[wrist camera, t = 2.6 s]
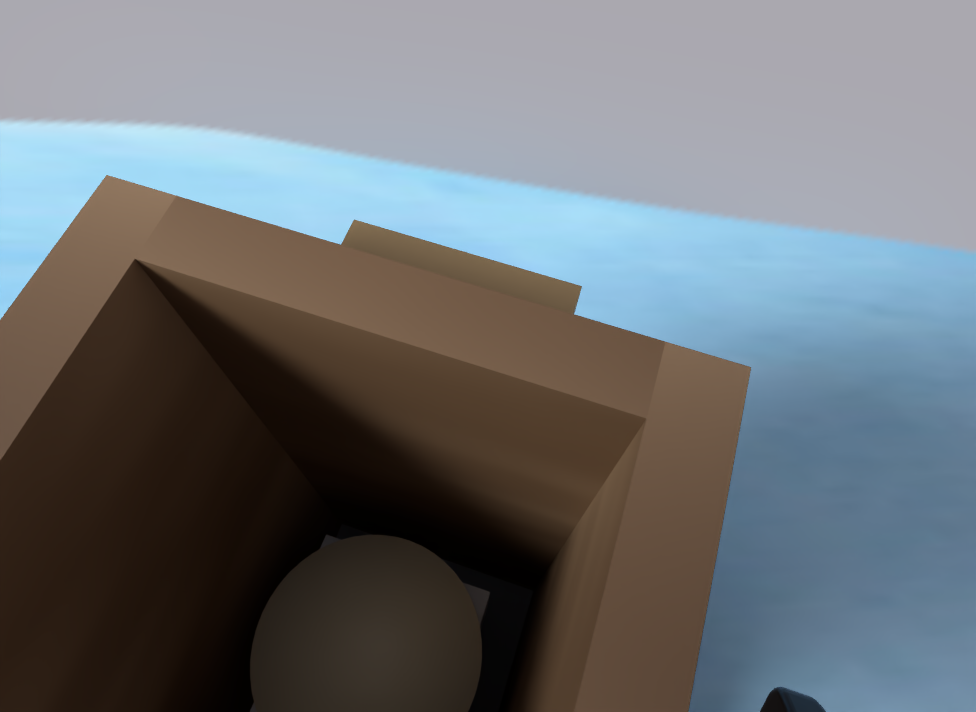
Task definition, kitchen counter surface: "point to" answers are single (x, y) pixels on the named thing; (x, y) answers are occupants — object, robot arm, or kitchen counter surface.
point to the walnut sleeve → (337, 456)
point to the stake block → (385, 632)
